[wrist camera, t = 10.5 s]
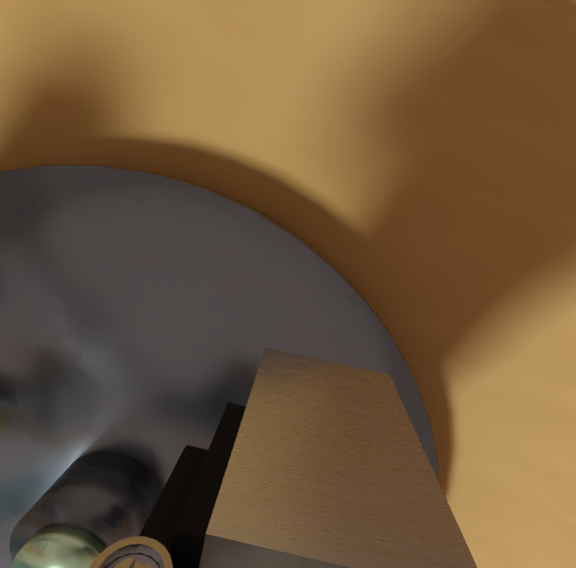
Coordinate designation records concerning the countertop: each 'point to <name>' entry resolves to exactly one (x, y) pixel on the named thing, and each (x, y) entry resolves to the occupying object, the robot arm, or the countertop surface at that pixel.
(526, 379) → the countertop surface
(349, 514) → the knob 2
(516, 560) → the countertop surface
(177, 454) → the levelling base
